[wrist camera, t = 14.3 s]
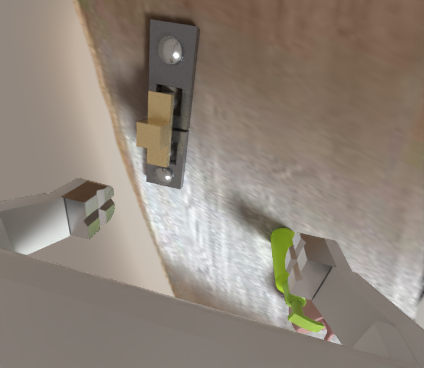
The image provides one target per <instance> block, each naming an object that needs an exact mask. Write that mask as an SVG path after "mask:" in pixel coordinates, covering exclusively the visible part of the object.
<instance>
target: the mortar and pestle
mask: <svg viewBox="0 0 424 368" xmlns="http://www.w3.org/2000/svg"><path fill="white" fill-rule="evenodd" d="M302 309H303V313H304V316H306V317H308V318H310V319H312V320H314V321H317V322H321V323H323V324H324V325H325V327H324V328H323V329H321V330H324V329H327V334H326V336H325V338H324V340H325V341H329V342H330V339H331V338H332V337H333V336H334V332H333V331H332V329H331V328H330V326H329V325H328V324H327V322H326V321H325V319H324V318H323V316H322V315H321V314H320V312H319V311H318V309H317V308H316V306H315V305H314V304H313V302H312V300H309V299H306V304H305V305H304V306H303V307H302ZM291 313H292V309H291V307H289V315H290V314H291ZM291 323H292V322H291ZM292 325H293V327H294V329H295V330H296V332H298V333H309V332H313V331H309V330H306V329H304V328H302V327H300V326H298V325H296V324H294V323H292Z"/></svg>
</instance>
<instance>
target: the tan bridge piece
mask: <svg viewBox="0 0 424 368" xmlns="http://www.w3.org/2000/svg"><path fill="white" fill-rule="evenodd" d="M178 104H179V97H178V95H177V94H176V93H173V92H170V93H162V92H157V91H148V118H147V119H144V120H141V121H138V122H137V146H138V147H143V148H147V163H148V164H152V165H157V166H161V167H166V168H167V167H168V166H169V161H170V156H172V155H173V154H174V153H175V147H174V145H173V144H172V143H171V134H172V120H173V108H175V107H177V106H178Z"/></svg>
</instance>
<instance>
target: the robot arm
mask: <svg viewBox="0 0 424 368" xmlns="http://www.w3.org/2000/svg"><path fill="white" fill-rule="evenodd" d="M113 196H114V190H113V188H112V187H111V186H108V185H105V184H101V183H97V182H93V181H89V180H85V179H82V178H77V179H75V180H73V181H71V182H69V183H68V184H66V185H64V186H62V187H60V188H58V189H56V190H54V191H53V192H51V193H49V194H47V193H42V194H37V195H31V196H26V197H20V198H15V199H9V200H4V201H0V368H424V329H423V328H421V327H420V326H419V325H418V324H417V323H416V322H414V321H413V320H412V319H411V318H410V317H408V316H407V315H406V314H405V313H404V312H402V311H401V310H400V309H399V308H398V307H397V306H395V305H394V304H393V303H392V302H391V301H389V300H388V299H387V298H386V297H385V296H384V295H382V294H381V293H380V292H379V291H378V290H376V289H375V288H374V287H373V286H372V285H370V284H369V283H368V282H367V281H366V280H365V279H363V278H362V277H361V276H360V275H359V274H357V273H355V272H352V270H351V268H350V266H349V264H348V262H347V260H346V258H345V256H344V255H343V253H342V251H341V249H340V247H339V245H338V243H337V242H336V241H335V240H330V239H326V238H320V237H316V236H311V235H307V234H303V233H298V232H297V233H296V234H295V235H294V237H293V239H292V240H293V246H291V247H289V248H288V251H287V253H286V258H285V268H286V271H287V272H288V273H289V274H290V275H289V277H288V279H287V280H288V286H289V292H290V294H293V295H296V296H299V297H303V298H306V299H309V300H312V302H313V304H314V305H315V306H316V308H317V309H318V311H319V312H320V314H321V315H322V316H323V318H324V319H325V321H326V322H327V324H328V325H329V326H330V328H331V329H332V331H333V332H334V334H335V335H336V336H337V338H338V339H339V341H340V342H341V344H342V345H339V344H336V343H332V342H329V341H325V340H322V339H318V338H315V337H311V336H308V335H304V334H301V333H297V332H294V331H290V330H287V329H283V328H280V327H276V326H273V325H269V324H266V323H262V322H259V321H255V320H252V319H248V318H245V317H241V316H238V315H235V314H231V313H228V312H224V311H221V310H217V309H214V308H210V307H207V306H203V305H200V304H196V303H193V302H189V301H186V300H182V299H179V298H175V297H172V296H168V295H165V294H161V293H158V292H154V291H150V290H147V289H144V288H140V287H137V286H133V285H129V284H126V283H123V282H119V281H116V280H112V279H108V278H105V277H102V276H98V275H94V274H91V273H87V272H84V271H81V270H77V269H74V268H70V267H66V266H63V265H60V264H56V263H53V262H49V261H45V260H42V259H39V258H35V257H31V256H28V255H27V254H30V253H32V252H34V251H36V250H39V249H41V248H43V247H46V246H48V245H50V244H52V243H55V242H57V241H59V240H62V239H64V238H66V237H69V236H70V235H74V236H78V237H82V238H86V239H90V238H91V237H93V235H95V234H96V232H98V231H99V230H100V225H102V224H105V223H107V222H108V221H109V220H110V219H111V217H112V215H113V213H114V209H115V207H114V206H115V205H114V202H113V201H112V199H111V198H112V197H113Z"/></svg>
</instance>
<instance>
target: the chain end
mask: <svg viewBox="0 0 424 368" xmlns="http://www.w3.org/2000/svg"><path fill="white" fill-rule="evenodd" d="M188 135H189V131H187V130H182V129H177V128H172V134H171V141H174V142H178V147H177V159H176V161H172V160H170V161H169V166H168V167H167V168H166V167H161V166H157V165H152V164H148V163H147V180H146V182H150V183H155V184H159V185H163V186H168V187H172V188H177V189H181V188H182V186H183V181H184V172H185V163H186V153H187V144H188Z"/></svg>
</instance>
